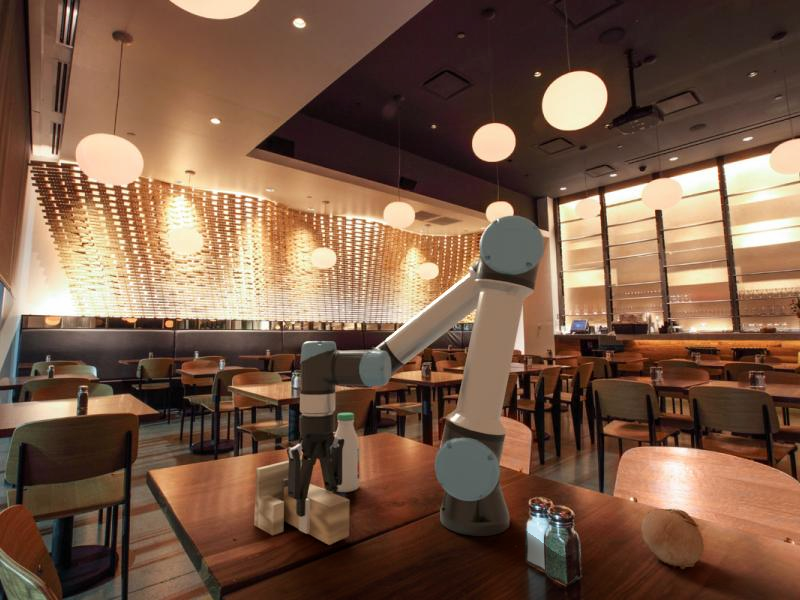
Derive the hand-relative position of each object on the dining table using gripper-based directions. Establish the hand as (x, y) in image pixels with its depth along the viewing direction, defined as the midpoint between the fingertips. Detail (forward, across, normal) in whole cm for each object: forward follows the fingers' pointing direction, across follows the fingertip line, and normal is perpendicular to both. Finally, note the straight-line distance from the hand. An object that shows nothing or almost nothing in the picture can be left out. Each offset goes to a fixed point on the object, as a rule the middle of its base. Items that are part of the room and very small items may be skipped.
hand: (315, 526), depth 87 cm
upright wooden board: (+1, 0, -10) cm, 10 cm away
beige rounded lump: (+1, -36, +58) cm, 68 cm away
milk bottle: (+2, -22, -16) cm, 27 cm away
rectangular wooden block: (0, 0, 0) cm, 0 cm away
